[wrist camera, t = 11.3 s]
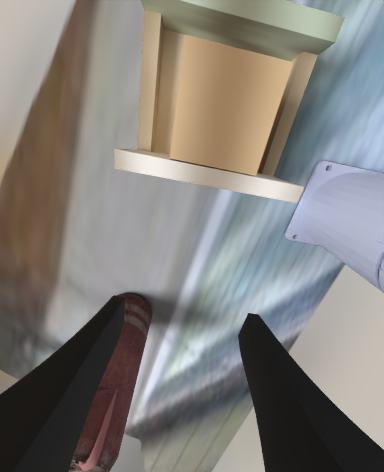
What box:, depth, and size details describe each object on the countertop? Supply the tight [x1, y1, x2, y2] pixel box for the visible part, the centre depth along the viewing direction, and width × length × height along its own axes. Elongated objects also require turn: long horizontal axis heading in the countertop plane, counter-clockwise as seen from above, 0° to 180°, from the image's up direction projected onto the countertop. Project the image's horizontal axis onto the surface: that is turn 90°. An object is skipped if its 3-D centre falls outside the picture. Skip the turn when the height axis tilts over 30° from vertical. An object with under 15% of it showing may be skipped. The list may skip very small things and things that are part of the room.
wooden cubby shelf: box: [115, 0, 345, 203], centre depth 12 cm, size 11×10×7 cm
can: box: [68, 294, 152, 472], centre depth 18 cm, size 6×6×14 cm
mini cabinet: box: [170, 35, 293, 176], centre depth 12 cm, size 5×6×6 cm
